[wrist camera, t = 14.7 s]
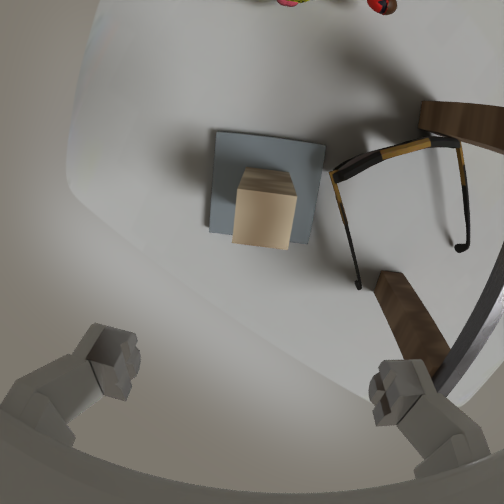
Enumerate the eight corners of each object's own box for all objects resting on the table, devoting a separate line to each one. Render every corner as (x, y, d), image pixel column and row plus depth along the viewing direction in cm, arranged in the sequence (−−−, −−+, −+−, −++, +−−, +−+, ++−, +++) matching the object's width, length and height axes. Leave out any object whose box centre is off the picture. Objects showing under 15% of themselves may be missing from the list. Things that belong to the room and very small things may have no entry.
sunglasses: (354, 285, 33) (366, 311, 28) (319, 156, 26) (329, 165, 22) (455, 248, 30) (476, 268, 25) (440, 123, 24) (466, 128, 19)
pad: (324, 144, 26) (326, 146, 25) (306, 240, 31) (307, 244, 30) (218, 131, 26) (216, 131, 25) (210, 228, 31) (209, 232, 30)
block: (289, 172, 27) (297, 196, 19) (282, 212, 28) (287, 250, 21) (245, 166, 26) (237, 188, 19) (241, 207, 28) (232, 242, 21)
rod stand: (444, 109, 23) (549, 128, 10) (394, 293, 33) (442, 387, 20) (422, 100, 23) (527, 110, 10) (373, 292, 33) (416, 390, 20)
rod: (545, 121, 9) (561, 125, 8) (435, 390, 20) (440, 403, 18) (533, 111, 9) (550, 115, 8) (421, 391, 20) (426, 405, 18)
